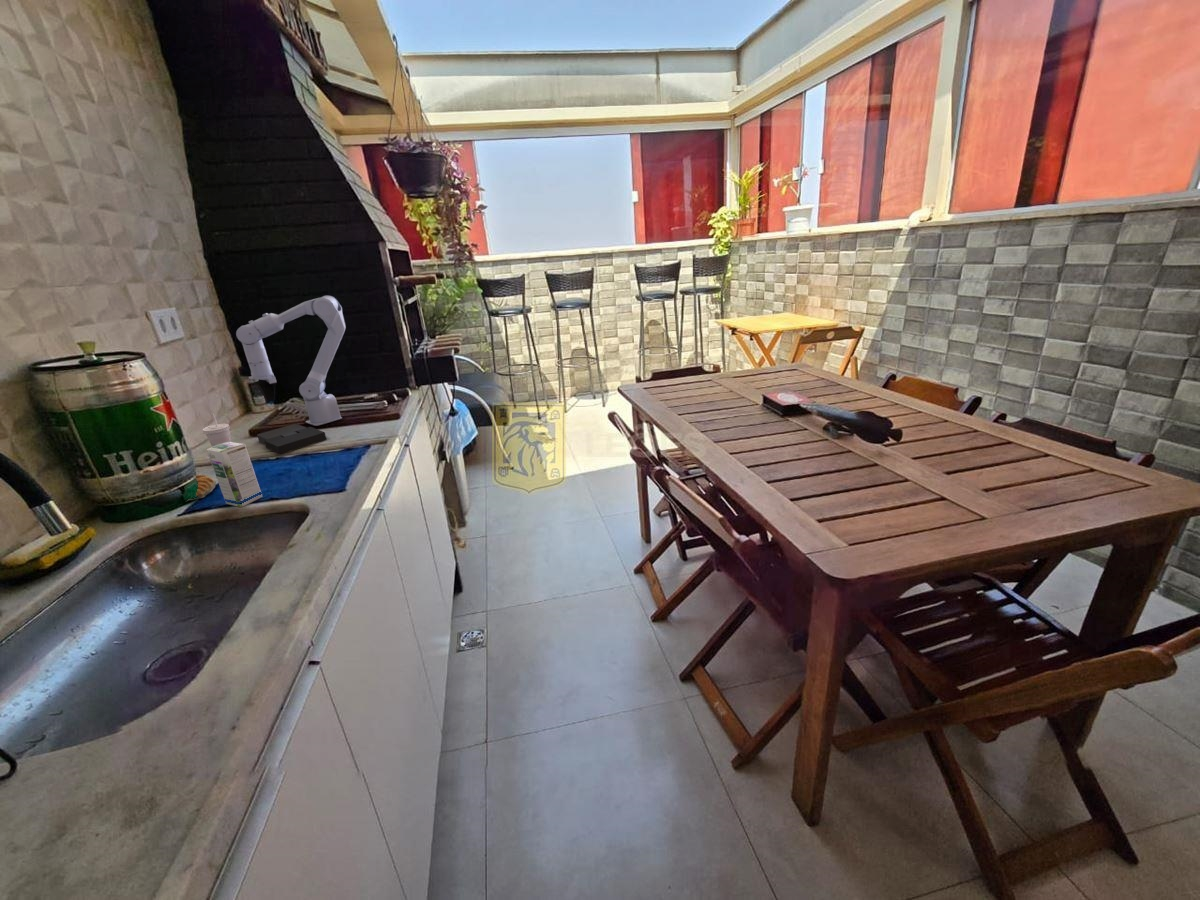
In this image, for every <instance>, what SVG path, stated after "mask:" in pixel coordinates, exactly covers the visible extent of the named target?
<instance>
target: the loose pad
mask: <svg viewBox="0 0 1200 900" xmlns="http://www.w3.org/2000/svg"><path fill="white" fill-rule="evenodd" d="M304 428H307V427H306V426H303V425H301V424H298V423H293V424H289V425H286V426H282V427H279V428H275V429H271V430H268V431H264V432H261V433H257V434H256V436H257V439H258V442H259V443H261V444H263V445H265V442H264V440H267V439H270V438H273V437H277V436H281V437H283V438H284V437H287V436H290V435H294V434H297V432H296V431H297V430H301V429H304Z"/></svg>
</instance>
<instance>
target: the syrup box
mask: <svg viewBox="0 0 1200 900" xmlns="http://www.w3.org/2000/svg"><path fill="white" fill-rule="evenodd" d="M206 453H207V456H208V458H209V461H210V464H211V467H212V469H213V472H214V475H215V478H216V480H217V483H218V485H219V488H220V491H221V494H222V497H223V499H224V501H225V499H226V500H231V501H236V502H240V501H243V500H244V499H247V498H249V497H251V496H253V495H255V494H257V493H259V492H261V493H262V491H261V487H260V484H259V482H258V478H257V476H256V472H255V470H254V467H253V463H252V460H251V458H250V454H249V452H248V449H247V446H246V444H245V443H240V442H233V441H231V442H226V443H222V444H219V445H216V446H213V447H212V446H211V447H208V448H207V449H206ZM261 498H263V493H262V494H261V495H258V496H256V497H254V498H252V499H250V500H248V501H246V502H244V503H242V504H235V503H231V502H227V501H225V504H226V505H230V506H233V507H239V508H243V507H245V506H247V505H249V504H251V503H253V502H256V501H258V500H259V499H261Z"/></svg>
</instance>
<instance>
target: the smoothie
mask: <svg viewBox="0 0 1200 900" xmlns="http://www.w3.org/2000/svg"><path fill="white" fill-rule="evenodd" d="M210 414H211V417H212V420H213V422H214V424H211V425H209V426H206V427H204V428H202V434H204V435H205V436H206V438H207V440H208V441H209V443H210V446H211V447H213V446H216V445H219V444H222V443H226V442H232V437H231V432H230V429H231V426H230V425H229V423H218V421H217V418H216V416H215V414H214V412H211V413H210Z"/></svg>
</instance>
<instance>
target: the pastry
mask: <svg viewBox="0 0 1200 900" xmlns="http://www.w3.org/2000/svg"><path fill="white" fill-rule="evenodd" d="M195 476H196V478H197V482H198V484H197V485H198V489H197V492H196V496H199V497H197V498H194V499H188V500H187V501H186V502H188V501H194V500H198V499H203V498H206V496H207V495H210V493H212V492H213V491H214V489H215V488H216V484H217V481H216V480H215V479H213V477H210V476H209V475H206V474H197V475H195Z"/></svg>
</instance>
